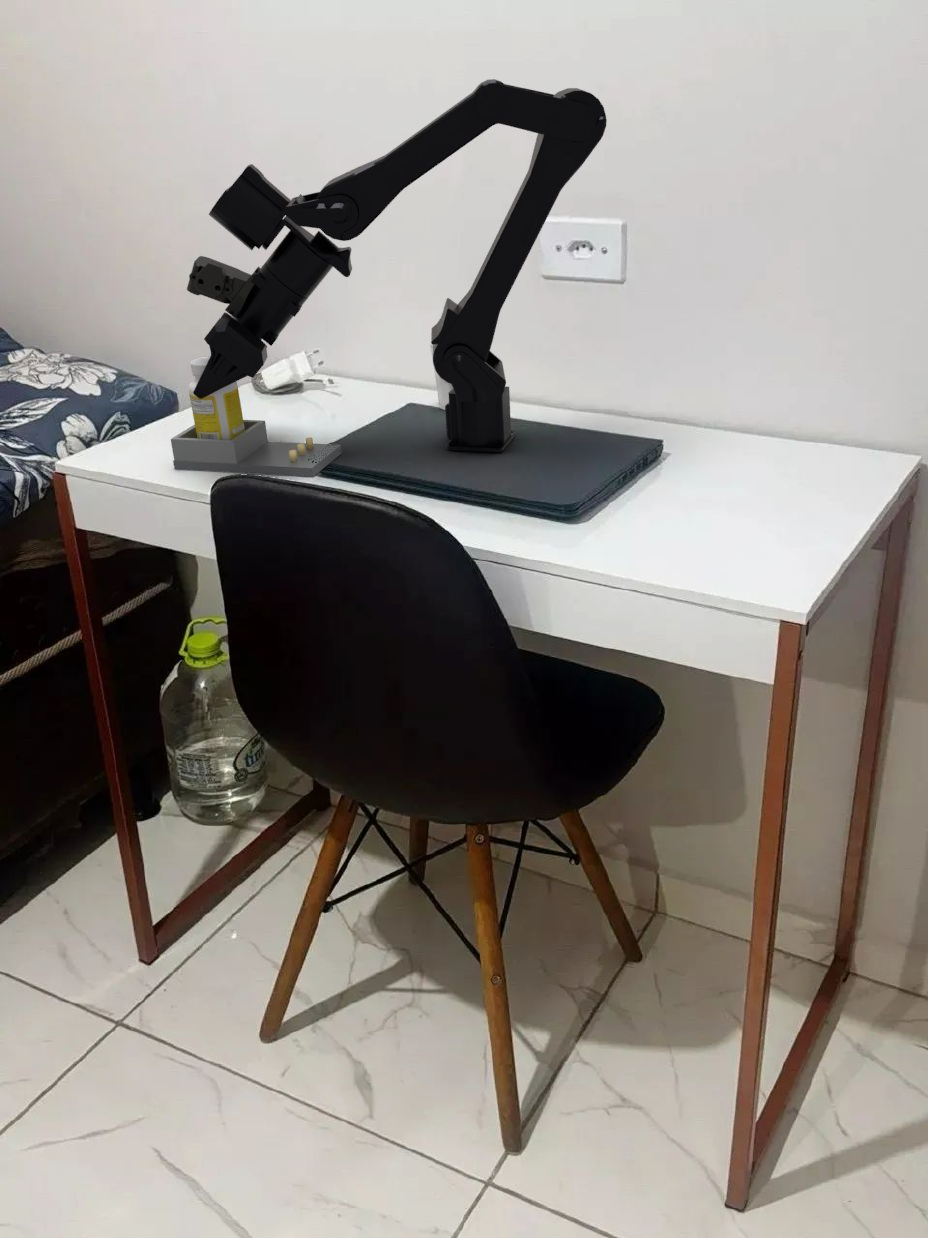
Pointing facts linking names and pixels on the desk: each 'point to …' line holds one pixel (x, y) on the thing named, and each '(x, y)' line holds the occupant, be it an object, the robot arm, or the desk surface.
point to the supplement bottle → (215, 408)
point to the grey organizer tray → (250, 453)
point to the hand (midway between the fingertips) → (201, 388)
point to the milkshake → (441, 387)
